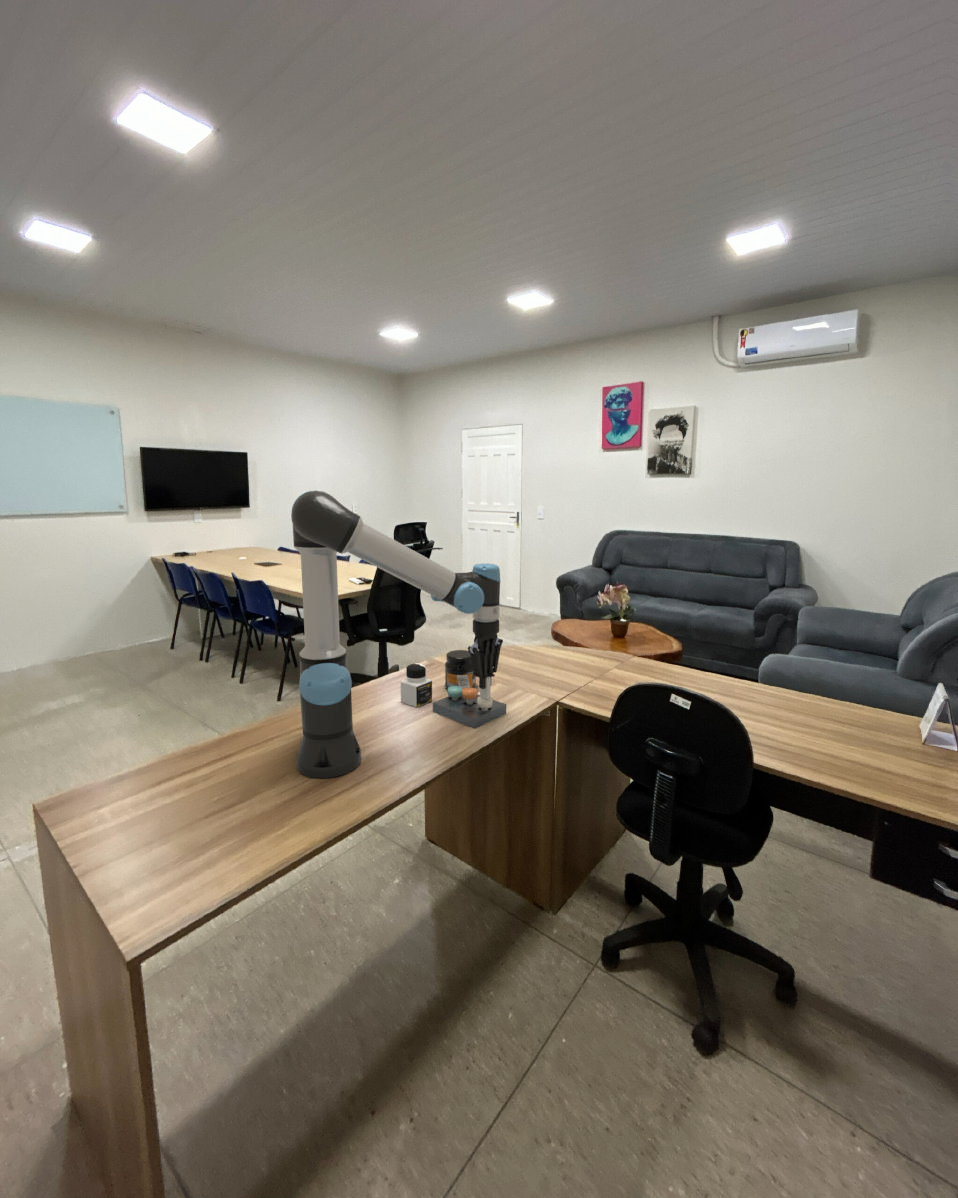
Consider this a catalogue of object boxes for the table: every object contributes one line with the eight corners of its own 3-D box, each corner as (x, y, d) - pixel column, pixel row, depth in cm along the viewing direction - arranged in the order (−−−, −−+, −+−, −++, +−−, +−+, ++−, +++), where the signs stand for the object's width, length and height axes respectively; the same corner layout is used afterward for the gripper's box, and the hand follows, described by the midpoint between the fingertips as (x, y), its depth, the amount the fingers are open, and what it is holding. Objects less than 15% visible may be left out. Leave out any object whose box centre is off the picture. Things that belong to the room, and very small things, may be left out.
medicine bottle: (416, 708, 163) (416, 670, 161) (400, 702, 167) (399, 665, 165) (432, 701, 169) (432, 664, 166) (416, 695, 173) (415, 660, 171)
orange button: (470, 709, 157) (470, 694, 156) (459, 705, 159) (459, 690, 158) (479, 705, 160) (480, 690, 159) (469, 701, 163) (469, 686, 162)
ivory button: (485, 718, 153) (485, 702, 152) (474, 714, 156) (474, 698, 155) (495, 714, 156) (495, 698, 155) (483, 709, 159) (484, 694, 158)
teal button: (455, 707, 161) (455, 692, 160) (444, 703, 163) (444, 688, 163) (465, 703, 164) (465, 688, 163) (454, 699, 167) (454, 684, 166)
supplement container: (465, 696, 173) (465, 660, 170) (438, 689, 178) (438, 655, 176) (482, 686, 182) (482, 652, 179) (456, 680, 187) (456, 647, 185)
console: (474, 728, 149) (475, 718, 149) (432, 711, 160) (432, 702, 160) (506, 713, 160) (506, 704, 159) (464, 698, 171) (464, 690, 170)
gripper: (480, 625, 143) (480, 708, 148) (510, 617, 153) (509, 695, 157) (460, 620, 148) (460, 701, 153) (490, 613, 157) (489, 688, 162)
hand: (485, 698), depth 155 cm, fingers closed
